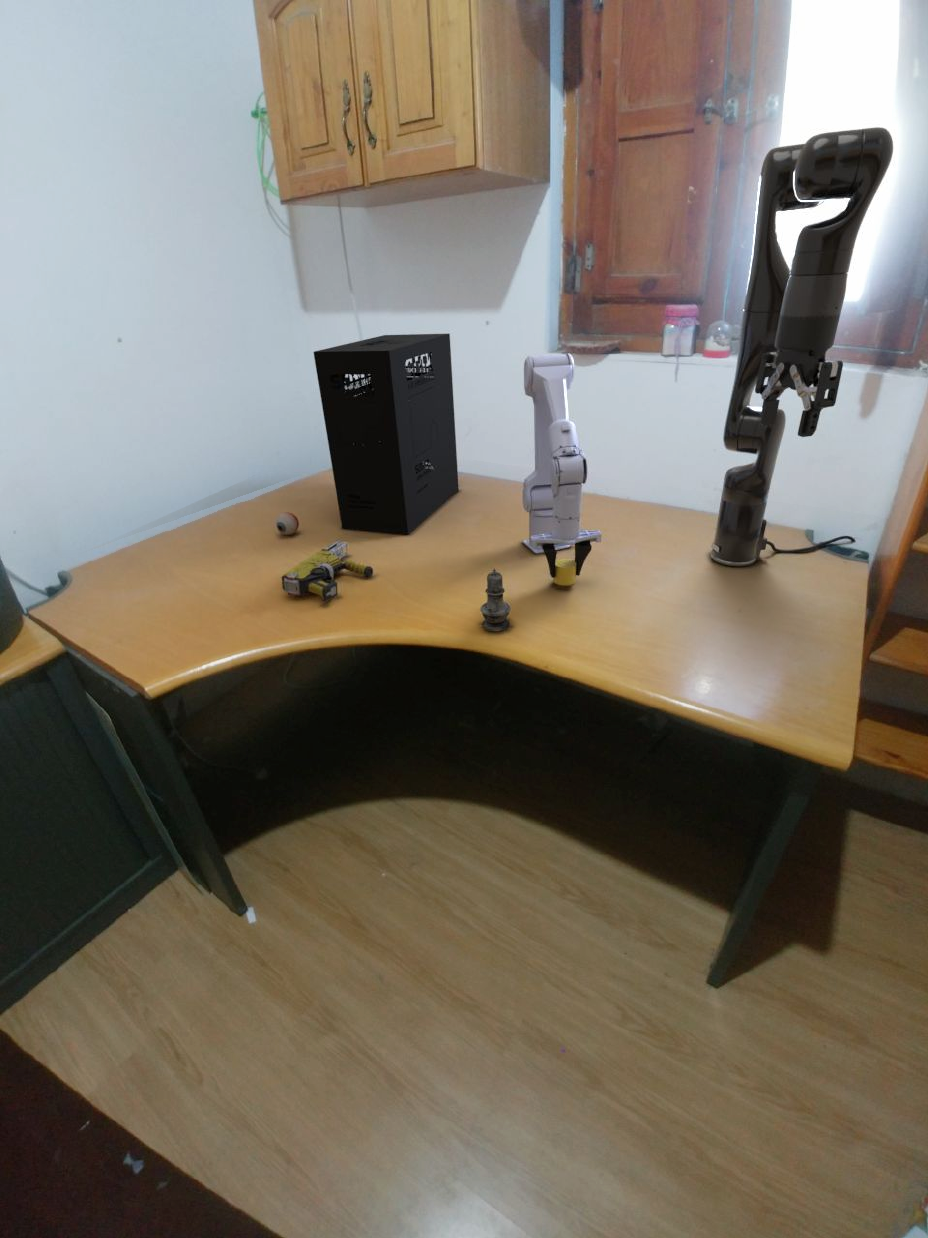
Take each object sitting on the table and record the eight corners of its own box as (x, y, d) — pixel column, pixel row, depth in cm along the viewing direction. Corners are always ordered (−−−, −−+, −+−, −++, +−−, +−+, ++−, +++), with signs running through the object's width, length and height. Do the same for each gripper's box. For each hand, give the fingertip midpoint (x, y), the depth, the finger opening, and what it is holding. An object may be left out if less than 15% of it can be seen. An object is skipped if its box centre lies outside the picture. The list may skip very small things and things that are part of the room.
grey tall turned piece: (508, 633, 114) (507, 576, 108) (478, 631, 116) (475, 574, 110) (512, 617, 119) (512, 562, 113) (483, 615, 120) (481, 561, 114)
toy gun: (389, 548, 145) (334, 537, 149) (339, 588, 125) (277, 575, 129) (389, 566, 147) (335, 555, 151) (340, 608, 127) (279, 595, 131)
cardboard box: (400, 486, 197) (384, 334, 175) (458, 490, 190) (449, 333, 168) (342, 528, 167) (313, 351, 144) (408, 534, 160) (389, 350, 138)
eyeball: (273, 537, 164) (268, 516, 161) (287, 528, 169) (282, 508, 166) (291, 539, 161) (286, 518, 158) (305, 530, 166) (301, 510, 163)
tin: (574, 586, 128) (574, 568, 126) (551, 584, 129) (552, 566, 127) (576, 576, 132) (577, 559, 130) (555, 575, 133) (555, 557, 131)
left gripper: (535, 524, 119) (535, 585, 126) (607, 518, 120) (603, 579, 127) (528, 512, 125) (528, 571, 132) (597, 506, 126) (593, 565, 133)
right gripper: (874, 311, 79) (841, 437, 87) (798, 307, 91) (776, 418, 99) (824, 316, 77) (796, 443, 86) (754, 311, 90) (735, 423, 98)
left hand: (564, 574), depth 130 cm, fingers closed on tin, 5 cm apart
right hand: (785, 429), depth 92 cm, fingers open, 8 cm apart
